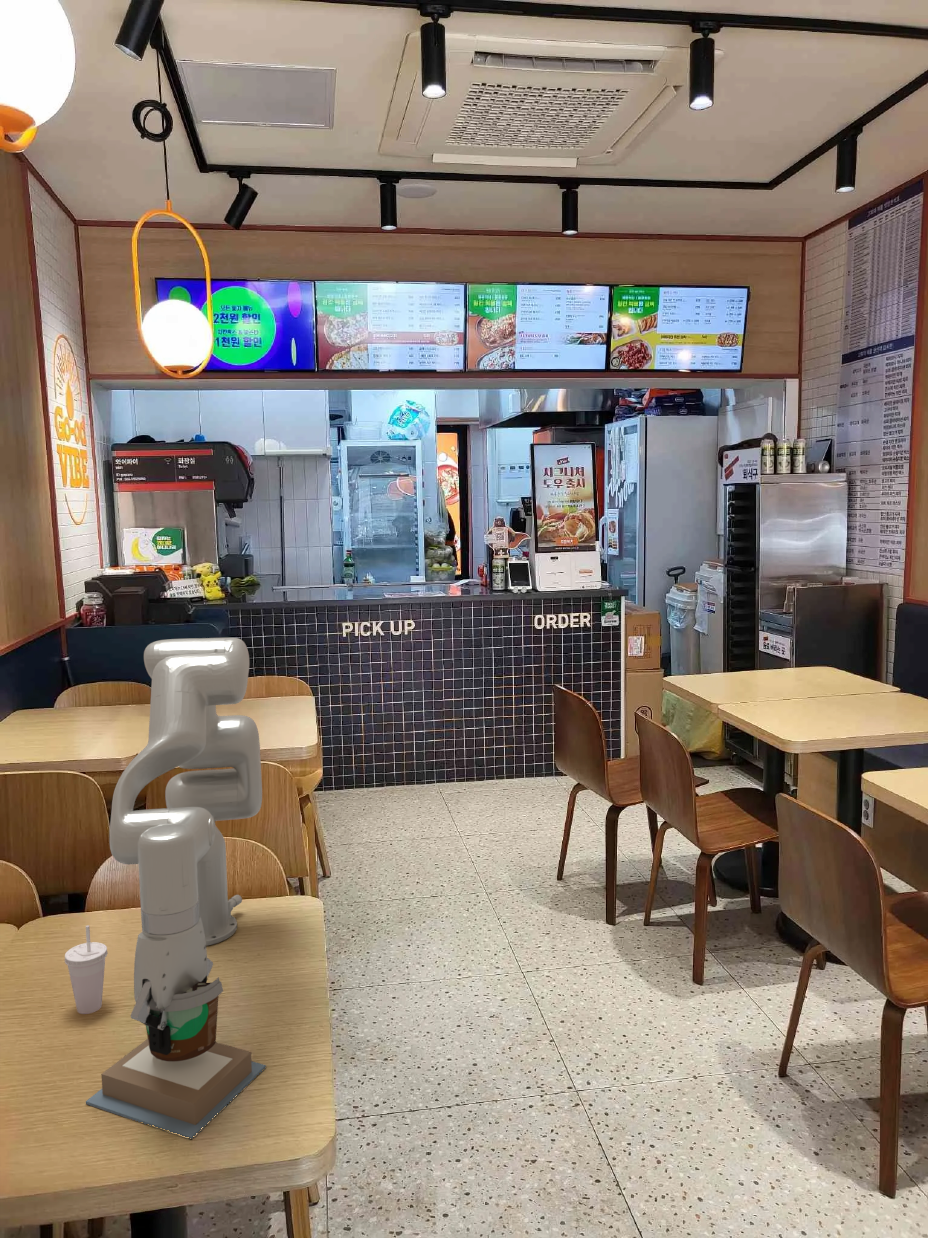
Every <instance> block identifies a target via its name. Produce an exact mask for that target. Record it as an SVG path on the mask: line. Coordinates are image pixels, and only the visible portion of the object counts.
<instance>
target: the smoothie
mask: <svg viewBox="0 0 928 1238" xmlns="http://www.w3.org/2000/svg"><path fill="white" fill-rule="evenodd" d="M90 930H91V929H90V925H85V938H86V939H85V940H86V942H84V943H80V944H78V945H75V946H73V947H71V948H70V949H68V950H67V951H66V952H65V954H64V963H65V965H67V969H68V973H69V978H70V983H71V988H72V992H73V997H74V1002H75V1006H76V1012H77V1013H78V1014H81V1015H87V1014H93V1013H95V1012H97V1011H99V1010H100V1009H101V1008H102V1006H103V1003H102V1002H103V992H104V991H103V990H104V979H105V969H106V968H105V966H106V957H107V956H108V946H107V945H106V944H105V943H101V942H95V941H92V942H91V931H90Z"/></svg>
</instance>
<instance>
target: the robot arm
mask: <svg viewBox="0 0 928 1238" xmlns="http://www.w3.org/2000/svg"><path fill="white" fill-rule="evenodd" d="M143 662H144V667H145V669H146V672H147V674H148V676H149V677H150V679H151V689H150V703H149V704H150V705H149V707H150V708H149V720H148V721H149V723H148V742H147V743H146V746H144V748H143V749H142V750H141V751H139V753H138V754H137V755H136V756H135V757H134V758H132V760H131V761H130V762H129V764H128V765H127V766H126V767H125V769H124V770H123V771H122V773H121V774H120V776H119V778H118V780H117V783H116V785H115V788H114V791H113V795H112V802H111V812H110V813H111V815H110V823H109V824H110V825H109V849H110V852H111V855H112V857H113V858H114V860H115V861H116V862H118V863H120V864H123V865H129V866H130V865H138V880H139V899H140V918H141V932H140V933H138V935H137V940H136V945H135V951H134V952H135V953H134V964H133V965H134V968H133V993H134V1002H135V1004H134V1006H133V1009H132V1011H131V1013H130V1018H131V1020H135V1021H138V1022H139V1023H142V1024H143V1025H144V1026H145V1027H146V1026H149V1042H150V1050H151V1051H154V1052H157V1053H161V1054H164V1055H168V1054H169V1053H170V1052H171V1038H170V1026H168V1025H166V1023H167V1018H168V1012H164V1011H165V1008H166V1007H168V1006H169V1005H170V1004H171V1001H172V1000H173V996H174V995H176V994H183V993H185V992H186V991H187V990H189V989H190V988H191V987H193V986H194V985H195V984H196V983H198V982H207V983H208V977H209V976H210V975H209V974H210V973H211V971H212V968H213V966H214V963H213V961H212V960H211V959H209V958H208V954H207V953H208V951H207V946H211V945H215V944H218V943H220V942H223V941H226V940H227V939H229V938H231V937H232V936H233V935H234V934H235V933H236V931H237V929H238V922H237V919H236V918H235V917H234V916H233V915H232V911H233V910H234V908H235V907H237V906H239V905H241V903H242V902H243V898H242V896H241V895H239V894H235V895H233V896H232V897H231V898H229V897H228V878H227V877H228V876H227V875H228V873H227V872H228V871H227V854H226V853H227V851H226V849H227V848H226V842H225V837H224V835H223V834H222V832H221V830H220V829H219V828H218V827H217V826H216V822H218V821H229V820H241V819H250V818H252V817H254V816H256V815H257V814H258V813H259V812H260V810H261V808H262V803H263V802H262V801H263V781H262V765H261V764H262V763H261V761H262V760H261V759H262V758H261V743H260V736H259V730H258V727H257V724H256V722H255V720H254V719H253V718H251V717H249V716H247V715H240V714H239V715H238V714H237V715H218V714H217V706H221V705H222V706H223V705H224V706H226V705H236V704H239V703H241V702H242V701H243V699H244V697H245V695H246V693H247V688H248V682H249V681H248V680H249V672H250V654H249V651H248V647H247V645H246V643H245V641H244V640H242V639H241V638H238V637H209V638H208V637H207V638H206V637H202V638H200V637H199V638H196V637H195V638H171V639H160V640H156V641H152V642H150V643H149V644H147V646H146V647H145V649H144V651H143ZM176 768H181V769H185V770H190V771H183V772H181V773H178V774H176V775H174V776H173V777H171V778H170V779H169V780H168V782H167V784H166V787H165V792H164V795H165V797H164V798H165V805H166V808H151V809H139V810H138V809H137V810H134V807H135V803H136V802H135V801H136V799H137V797H138V795H139V794H140V792H141V791H142V790H143V789H144V788H145V786H147V785H148V784H149V783H151V782H152V781H153V780H155V779H156V778H158V777H160V776H162V775H164V774H166V773H167V772H169V771H172V770H174V769H176ZM218 768H219V769H218ZM222 768H223V769H222ZM203 769H204V770H203ZM228 898H229V899H228ZM152 997H153V999H154V1002H156V1004H157V1006H156V1007H155V1008H157V1009H160V1013H159V1018H158V1017H156V1016H154V1010H151V1009H150V1007H149V1004H150V1001H151V999H152Z"/></svg>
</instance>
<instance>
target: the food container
mask: <svg viewBox="0 0 928 1238" xmlns="http://www.w3.org/2000/svg"><path fill="white" fill-rule="evenodd" d="M223 992H224V988H223V985H222V981H220V977H219V976H218V977H217V978H216V979H215V980H214V981H212V982H208V981H207V982H198V983H196V984H195V985H194V986H193V987H191V988H190V989H189V990H187V991H186V992H185V993H183V994H176V995H174V996H173V1000H172V1001H171V1004H170V1005H169V1006H168V1007H166V1008H165V1011H164V1012H168V1018H167V1023H166V1025H168V1026H170V1038H171V1052H170V1053H169V1054H168V1055H164V1054H161V1053H157V1052H154V1051H151V1050H150V1052H151V1054H152V1055H153V1056H154V1057H155V1058H157V1059H160V1060H163V1061H172V1062H173V1061H183V1060H188V1059H191V1058H194V1057H197V1056H199V1055H201V1054H203V1053H205V1052H206V1051H208V1050H209V1049H210V1048H212V1047H213V1046H214V1044H215V1043H216V1042H217V1026H218V1012H219V1011H218V1009H219V996H220V995H221V994H222V993H223ZM156 1006H157V1004H156V1002H154V999H153V997H152V999H151V1001H150V1004H149V1007H150V1009H151V1010H154V1016H156V1017H158V1018H159V1013H160V1009H157V1008H155V1007H156ZM145 1030H146V1036H147V1039H148V1043H149V1049H150V1042H149V1026H146V1025H145Z"/></svg>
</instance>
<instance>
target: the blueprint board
mask: <svg viewBox="0 0 928 1238" xmlns="http://www.w3.org/2000/svg"><path fill="white" fill-rule="evenodd" d="M265 1067H266V1068H267V1065H266V1064H263V1063H259V1062H256V1061H252V1051H249V1050H245V1049H242V1048H237V1047H235V1046H231V1045H227V1044H224V1043H220V1042H217V1041H216V1043H215V1044H214V1046H213V1047H212V1048H210V1049H209V1050H208V1051H206V1052H205V1053H203V1054H201V1055H199V1056H197V1057H194V1058H191V1059H188V1060H183V1061H173V1062H172V1061H163V1060H160V1059H157V1058H155V1057H154V1056H153V1055H152V1054H151V1052H150V1049H149V1043H148V1038H147V1039H145V1040H144V1041H142V1042H141V1043H140V1044H139V1045H137V1046H136V1047H135V1048H133V1049H132V1050H131V1051H129V1052H128V1053H127V1054H126V1055H124V1056H123V1057H121V1058H120V1059H119V1060H118V1061H116V1062H115V1063H114V1064H112V1065H111V1066H110V1067H109V1068H107V1069H106V1070H105V1071H103V1072H102V1073H101V1075H100V1076H101V1089H99V1090H98V1091H97V1092H96V1093H94V1094H93V1095H92V1096H90V1097H89V1098H88V1099H87V1100H85V1104H86V1105H88V1106H91V1107H93V1108H97V1109H100V1110H103V1111H105V1112H108V1113H112V1114H114V1115H117V1116H121V1117H123V1118H126V1119H127V1120H128V1119H129V1120H131V1119H132V1121H134V1120H135V1122H137V1121H138V1123H140V1122H143V1123H144V1125H146V1124H149V1125H151V1126H150V1127H152V1125H154V1126H155V1127H158V1128H162V1129H165V1130H169V1131H170V1132H173V1133H177V1134H180V1135H182V1136H185V1137H189V1138H191V1139H192V1138H193V1136H195V1135H196V1133H198V1132H199V1131H200V1130H201V1128H202V1127H204V1126H205V1125H207V1123H208V1122H209V1121H211V1119H212V1118H214V1116H215V1115H217V1113H219V1112H220V1111H221V1110H222V1109H223V1108H224V1107H225V1106H226V1107H228V1105H229V1104H230V1103H231V1102H232V1101H233V1100H234V1099H235V1098H236V1097H237V1096H239V1094H238V1093H240V1092H241V1091H242V1090H243V1089H244V1088H245V1087H246V1086H247V1087H248V1086H249V1085H250V1084H251V1083H252V1082H253V1081H254V1080H255V1079H256V1078H257V1077H258V1076H259V1075H260V1074H261V1073H262V1072H263V1071H264V1070H266V1068H265ZM263 1069H264V1070H263ZM262 1070H263V1071H262ZM260 1072H261V1073H260ZM259 1073H260V1074H259ZM257 1075H258V1076H257ZM256 1076H257V1077H256ZM254 1078H255V1079H254ZM252 1080H253V1081H252ZM251 1081H252V1082H251ZM250 1082H251V1083H250ZM248 1084H249V1085H248ZM247 1087H246V1088H247ZM246 1088H245V1089H246ZM243 1091H244V1090H243ZM241 1093H242V1092H241ZM241 1093H240V1094H241ZM236 1095H237V1096H236ZM235 1096H236V1097H235ZM233 1098H234V1099H233ZM232 1099H233V1100H232ZM230 1101H231V1102H230ZM229 1102H230V1103H229ZM227 1104H228V1105H227ZM226 1107H225V1108H226ZM225 1108H224V1109H225ZM224 1109H223V1110H224ZM223 1110H222V1111H223ZM222 1111H221V1112H222ZM221 1112H220V1113H221ZM220 1113H219V1114H220ZM217 1116H218V1115H217ZM214 1119H215V1118H214ZM211 1122H212V1121H211ZM143 1123H142V1124H143ZM149 1125H148V1126H149ZM207 1126H208V1125H207ZM155 1127H154V1128H155ZM158 1128H157V1129H158ZM204 1128H205V1127H204ZM201 1131H202V1130H201ZM201 1131H200V1132H201ZM200 1132H199V1133H200ZM199 1133H198V1134H199ZM196 1136H197V1135H196ZM196 1136H195V1137H196ZM193 1139H194V1138H193ZM193 1139H192V1140H193Z"/></svg>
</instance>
